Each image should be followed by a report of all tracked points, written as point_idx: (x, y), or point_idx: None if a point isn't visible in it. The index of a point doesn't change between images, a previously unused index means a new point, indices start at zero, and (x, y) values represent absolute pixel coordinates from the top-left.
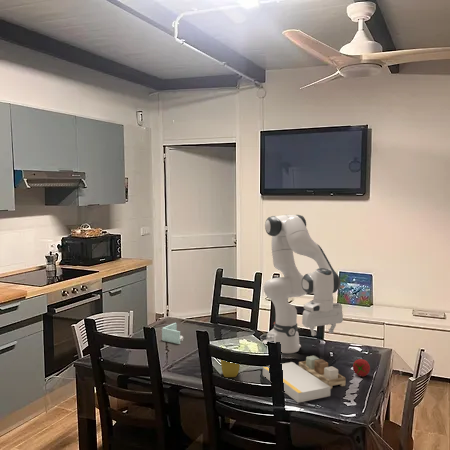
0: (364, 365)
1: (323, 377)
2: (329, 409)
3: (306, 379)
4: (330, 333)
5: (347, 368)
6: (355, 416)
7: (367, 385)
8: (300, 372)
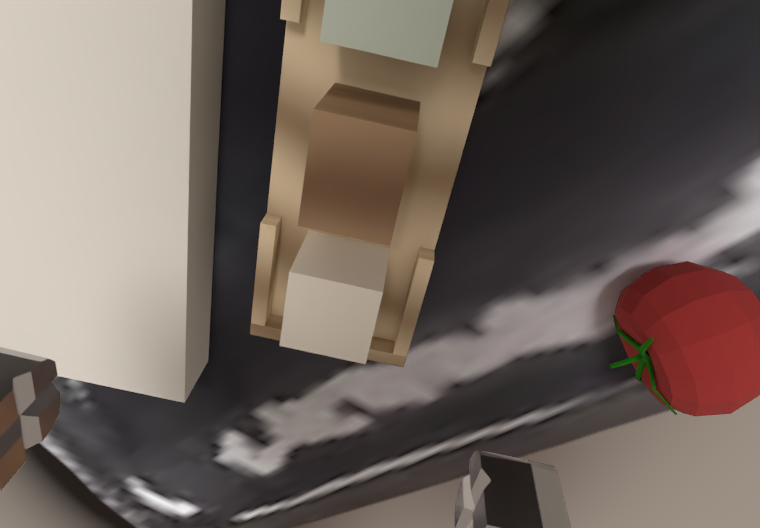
0: (667, 403)
1: (258, 273)
2: (107, 435)
3: (88, 240)
4: (458, 490)
5: (738, 141)
6: (180, 519)
7: (527, 403)
8: (116, 104)
